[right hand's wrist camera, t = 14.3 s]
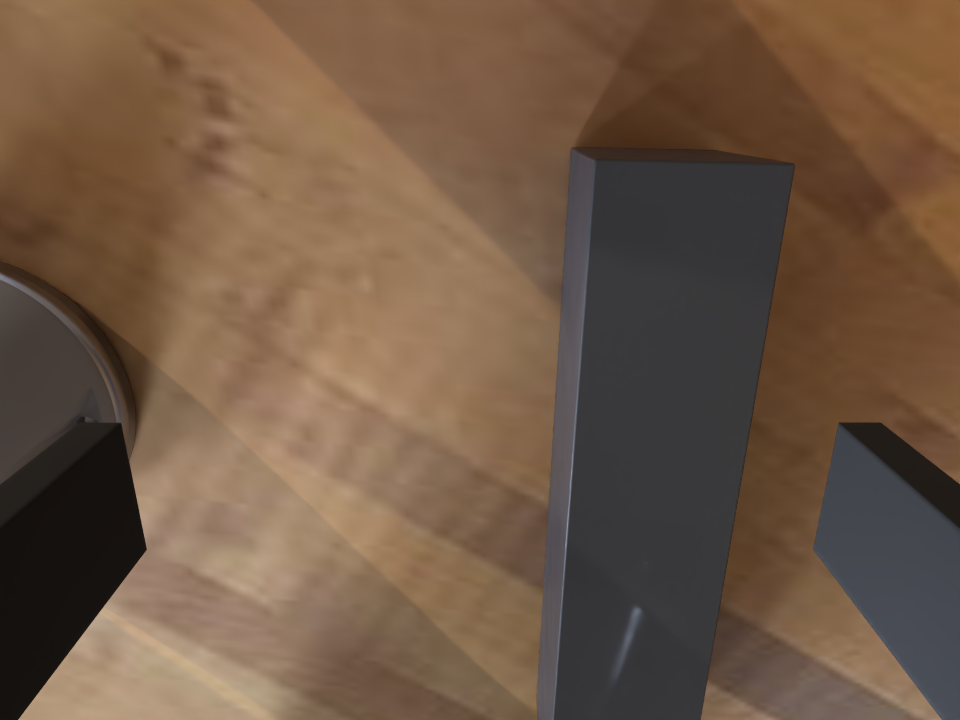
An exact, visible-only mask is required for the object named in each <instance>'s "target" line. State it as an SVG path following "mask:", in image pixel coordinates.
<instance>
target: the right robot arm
mask: <svg viewBox="0 0 960 720" xmlns="http://www.w3.org/2000/svg"><path fill="white" fill-rule="evenodd" d="M135 430H136V417H135V407H134V400H133V395H132V392H131V388H130V384H129V381H128V379H127V376H126V373H125V371H124V368H123V366H122V364H121V362H120V360H119V358H118V356H117V354H116V353H115V351H114V349H113V348H112V346H111V344H110V343H109V341H108V340H107V339H106V337H105V336H104V334H103V333H102V332H101V330H100V329H99V328H98V327H97V326H96V324H95V323H94V322H93V321H92V320H91V319H90V318H89V317H88V316H87V315H86V314H85V313H84V311H83V310H82V309H81V308H79V307H78V306H77V305H76V304H75V303H74V302H73V301H71V300H70V299H69V298H68V297H67V296H65V295H64V294H62V293H61V292H60V291H58V290H57V289H56V288H54V287H53V286H51V285H49V284H48V283H46V282H45V281H43V280H41V279H40V278H38V277H36V276H34V275H32V274H30V273H28V272H26V271H24V270H21V269H19V268H16V267H14V266H12V265H8V264H5V263H2V262H0V720H18V719H19V718H20V716H21V715H22V714H23V712H24V711H25V710H26V708H27V707H28V706H29V705H30V703H31V702H32V701H33V699H34V698H35V697H36V695H37V694H38V693H39V691H40V690H41V689H42V687H43V686H44V685H45V683H46V682H47V681H48V679H49V678H50V677H51V675H52V674H53V673H54V671H55V670H56V669H57V668H58V666H59V665H60V664H61V662H62V661H63V660H64V658H65V657H66V656H67V654H68V653H69V652H70V650H71V649H72V648H73V646H74V645H75V644H76V642H77V641H78V640H79V638H80V637H81V636H82V634H83V633H84V632H85V631H86V629H87V628H88V627H89V625H90V624H91V623H92V621H93V620H94V619H95V617H96V616H97V615H98V613H99V612H100V611H101V609H102V608H103V607H104V605H105V604H106V603H107V601H108V600H109V599H110V597H111V596H112V595H113V593H114V592H115V591H116V590H117V588H118V587H119V586H120V584H121V583H122V582H123V580H124V579H125V578H126V576H127V575H128V574H129V572H130V571H131V570H132V568H133V567H134V566H135V564H136V563H137V562H138V560H139V559H140V558H141V556H142V555H143V554H144V553H145V551H146V550H147V548H146V543H145V538H144V533H143V528H142V524H141V519H140V514H139V509H138V504H137V499H136V494H135V489H134V484H133V479H132V474H131V469H130V464H129V460H130V457H131V453H132V450H133V446H134V440H135ZM813 550H814V551H815V553H816V554H817V555H818V556H819V558H820V559H821V560H822V562H823V563H824V564H825V566H826V567H827V568H828V570H829V571H830V572H831V574H832V575H833V576H834V578H835V579H836V580H837V582H838V583H839V584H840V586H841V587H842V588H843V590H844V591H845V592H846V593H847V595H848V596H849V597H850V599H851V600H852V601H853V603H854V604H855V605H856V607H857V608H858V609H859V611H860V612H861V613H862V615H863V616H864V617H865V619H866V620H867V621H868V623H869V624H870V625H871V627H872V628H873V629H874V631H875V632H876V633H877V634H878V636H879V637H880V638H881V640H882V641H883V642H884V644H885V645H886V646H887V648H888V649H889V650H890V652H891V653H892V654H893V656H894V657H895V658H896V660H897V661H898V662H899V664H900V665H901V666H902V668H903V669H904V670H905V671H906V673H907V674H908V675H909V677H910V678H911V679H912V681H913V682H914V683H915V685H916V686H917V687H918V689H919V690H920V691H921V693H922V694H923V695H924V697H925V698H926V699H927V701H928V702H929V703H930V705H931V706H932V707H933V708H934V710H935V711H936V712H937V714H938V715H939V716H940V718H941V719H942V720H960V484H958V483H957V482H956V481H955V480H953V479H952V478H951V477H949V476H948V475H947V474H946V473H944V472H943V471H942V470H941V469H939V468H938V467H937V466H935V465H934V464H933V463H932V462H930V461H929V460H928V459H926V458H925V457H924V456H923V455H921V454H920V453H919V452H918V451H916V450H915V449H914V448H912V447H911V446H910V445H909V444H907V443H906V442H905V441H903V440H902V439H901V438H900V437H898V436H897V435H896V434H895V433H893V432H892V431H891V430H889V429H888V428H887V427H886V426H884V425H883V424H882V423H839V424H838V429H837V434H836V439H835V444H834V449H833V454H832V459H831V464H830V469H829V474H828V479H827V484H826V489H825V494H824V499H823V504H822V509H821V514H820V519H819V523H818V528H817V533H816V538H815V543H814V548H813Z"/></svg>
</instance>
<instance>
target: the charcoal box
mask: <svg viewBox="0 0 960 720" xmlns="http://www.w3.org/2000/svg"><path fill="white" fill-rule="evenodd" d="M794 168H795V165H794V164H793V163H788V162H782V161H776V160H770V159H764V158H758V157H752V156H746V155H740V154H734V153H728V152H722V151H716V150H679V149H635V148H592V147H572V148H571V158H570V174H569V190H568V206H567V222H566V238H565V254H564V270H563V286H562V302H561V318H560V333H559V349H558V365H557V381H556V397H555V413H554V429H553V445H552V461H551V477H550V493H549V509H548V525H547V541H546V557H545V573H544V589H543V605H542V620H541V636H540V652H539V668H538V684H537V715H538V720H701V714H702V708H703V702H704V696H705V690H706V684H707V679H708V673H709V667H710V661H711V655H712V649H713V643H714V637H715V632H716V626H717V620H718V614H719V608H720V602H721V596H722V591H723V585H724V579H725V573H726V567H727V561H728V555H729V550H730V544H731V538H732V532H733V526H734V520H735V514H736V508H737V503H738V497H739V491H740V485H741V479H742V473H743V467H744V462H745V456H746V450H747V444H748V438H749V432H750V426H751V420H752V415H753V409H754V403H755V397H756V391H757V385H758V379H759V374H760V368H761V362H762V356H763V350H764V344H765V338H766V332H767V327H768V321H769V315H770V309H771V303H772V297H773V291H774V286H775V280H776V274H777V268H778V262H779V256H780V250H781V245H782V239H783V233H784V227H785V221H786V215H787V209H788V203H789V198H790V192H791V186H792V180H793V174H794Z"/></svg>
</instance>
